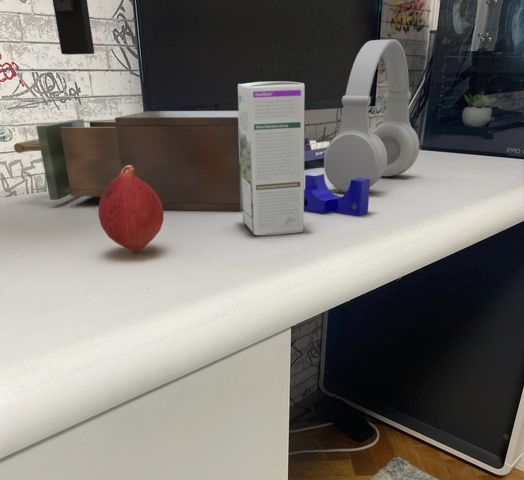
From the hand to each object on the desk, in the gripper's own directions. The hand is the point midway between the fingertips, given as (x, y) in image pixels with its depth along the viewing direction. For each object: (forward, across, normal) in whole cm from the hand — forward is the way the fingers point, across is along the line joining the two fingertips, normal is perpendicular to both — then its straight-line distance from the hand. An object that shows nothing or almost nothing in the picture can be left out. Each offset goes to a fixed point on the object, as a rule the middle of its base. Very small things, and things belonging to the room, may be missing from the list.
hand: (78, 53), depth 52 cm
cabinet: (+17, +16, -6) cm, 25 cm away
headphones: (+17, +30, -32) cm, 47 cm away
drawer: (+16, +16, +7) cm, 24 cm away
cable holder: (+18, +10, -25) cm, 32 cm away
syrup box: (+18, +2, -18) cm, 25 cm away
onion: (+18, -8, -6) cm, 20 cm away
